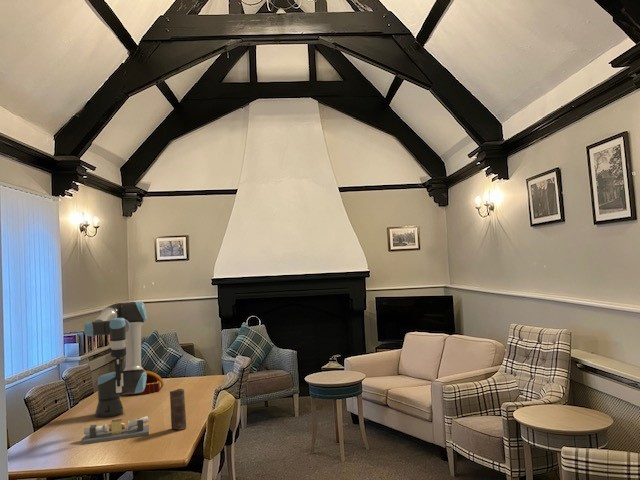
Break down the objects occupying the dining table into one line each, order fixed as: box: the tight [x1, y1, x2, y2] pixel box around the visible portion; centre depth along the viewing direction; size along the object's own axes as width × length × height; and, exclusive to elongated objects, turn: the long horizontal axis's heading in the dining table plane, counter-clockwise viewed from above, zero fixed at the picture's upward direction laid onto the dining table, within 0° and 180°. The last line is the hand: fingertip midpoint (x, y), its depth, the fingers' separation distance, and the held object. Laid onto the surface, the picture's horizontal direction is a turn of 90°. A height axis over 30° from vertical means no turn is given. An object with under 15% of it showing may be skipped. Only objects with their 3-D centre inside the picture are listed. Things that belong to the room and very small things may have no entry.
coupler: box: [108, 418, 126, 435], centre depth 255 cm, size 7×4×6 cm, turn 108°
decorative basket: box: [120, 369, 165, 396], centre depth 355 cm, size 34×29×15 cm
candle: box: [169, 388, 187, 430], centre depth 262 cm, size 8×7×20 cm
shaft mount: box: [82, 415, 150, 445], centre depth 255 cm, size 30×12×8 cm, turn 108°
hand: (119, 389), depth 264 cm, fingers open, 13 cm apart
